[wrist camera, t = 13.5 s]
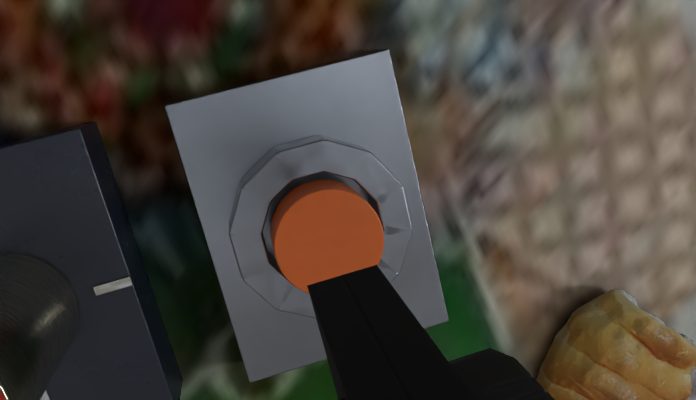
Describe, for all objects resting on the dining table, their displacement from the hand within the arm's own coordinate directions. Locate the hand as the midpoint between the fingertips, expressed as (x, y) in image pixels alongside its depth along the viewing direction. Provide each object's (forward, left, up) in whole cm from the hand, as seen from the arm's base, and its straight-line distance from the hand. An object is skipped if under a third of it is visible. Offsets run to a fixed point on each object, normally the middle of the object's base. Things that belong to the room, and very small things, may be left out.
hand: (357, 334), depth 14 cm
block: (+1, +1, -16) cm, 16 cm away
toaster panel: (+1, -11, -16) cm, 19 cm away
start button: (+1, +1, -12) cm, 12 cm away
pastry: (+13, +13, -16) cm, 24 cm away
